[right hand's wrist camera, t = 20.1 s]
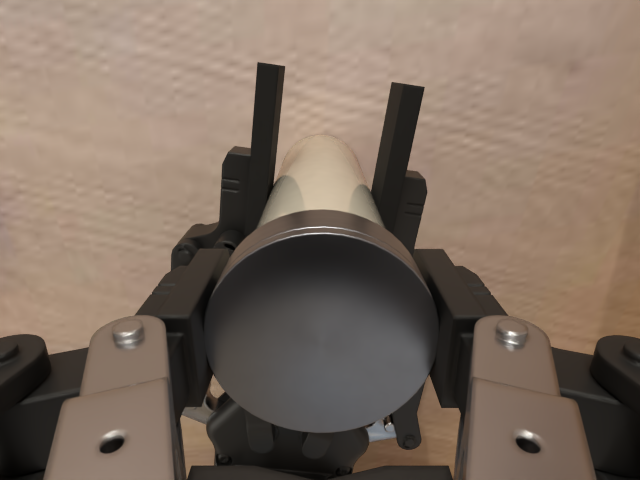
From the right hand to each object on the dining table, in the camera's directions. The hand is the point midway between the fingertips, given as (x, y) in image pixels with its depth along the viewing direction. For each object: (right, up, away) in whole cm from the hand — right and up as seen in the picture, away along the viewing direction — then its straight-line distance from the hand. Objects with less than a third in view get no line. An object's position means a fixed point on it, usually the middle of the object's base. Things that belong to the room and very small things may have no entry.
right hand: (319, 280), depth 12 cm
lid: (0, -1, -2) cm, 2 cm away
